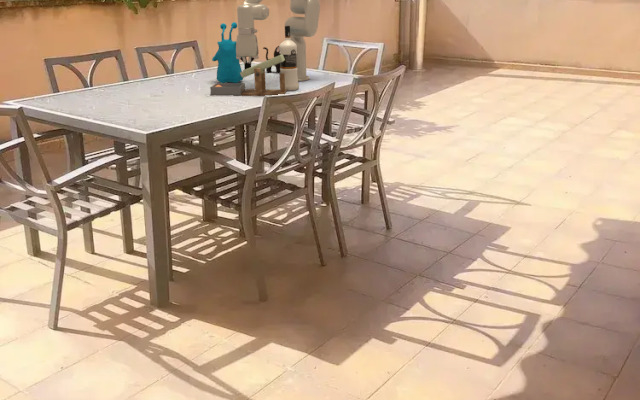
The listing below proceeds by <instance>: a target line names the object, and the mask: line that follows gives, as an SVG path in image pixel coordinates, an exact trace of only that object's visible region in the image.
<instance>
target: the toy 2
mask: <svg viewBox="0 0 640 400" xmlns="http://www.w3.org/2000/svg"><path fill="white" fill-rule="evenodd" d="M279 46H280V45H278V46H277V47H275V49H274V51H273V58H274V57H277V56H279V55H280V53H279V52H280V50H279ZM262 49H263V50H266V52H265V53H266V54H265V61H267V60H269V59H270V58H268V57H269V56H268V55H269V49H268V47H266V46H265V47H264V46H263V47H262ZM272 67H275V72H276V74H280V73H281V72H280V63H278V64H276V65H273V66H271V67H268V68H266V69H265V73H267V74H269V73H271V72H273V71H272Z"/></svg>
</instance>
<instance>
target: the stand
mask: <svg viewBox="0 0 640 400" xmlns="http://www.w3.org/2000/svg"><path fill="white" fill-rule="evenodd" d="M263 71H264V73H262V74H261V68H254V74H253V75H254V88H253V89H251V88H250V89H249V88H247V89H246V88H245V91H244V92H243V93H242V94H241V97H251V96H252V97H266V96H265V95H278V94H284V95H285V94H286V93H287V92H288V91H287V89H285V73H279V89H276V88H275V89H267V88H266V87H267V86H266V69H264V70H263Z"/></svg>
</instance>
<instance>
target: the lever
mask: <svg viewBox="0 0 640 400" xmlns="http://www.w3.org/2000/svg"><path fill="white" fill-rule="evenodd" d="M268 59H269V60H265V61H263V62H259V63H258V64H256V65H251V67H250V68H248V69H245V68H244V69H243V70H242V72H240V74H241V77H242V78H243V79H245V78H246V77H249V76H251V75H254V68H261V74H262V73H264V71H263V70H264V69H265V70H266V68H268V67H271V66H272V67H274V66H273V65H276V64H278V63H281V62H283V61H284V60H285V58H284V56H283V54H281V55H279V56H277V57H274V56H273V57H272V58H268Z"/></svg>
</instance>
